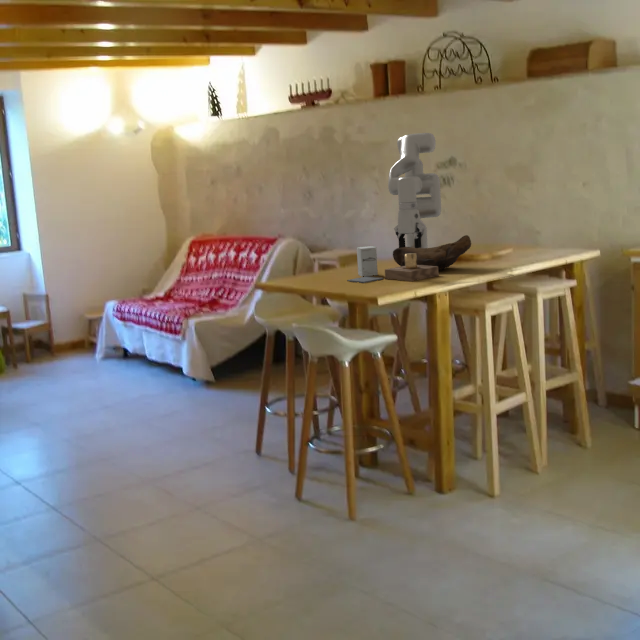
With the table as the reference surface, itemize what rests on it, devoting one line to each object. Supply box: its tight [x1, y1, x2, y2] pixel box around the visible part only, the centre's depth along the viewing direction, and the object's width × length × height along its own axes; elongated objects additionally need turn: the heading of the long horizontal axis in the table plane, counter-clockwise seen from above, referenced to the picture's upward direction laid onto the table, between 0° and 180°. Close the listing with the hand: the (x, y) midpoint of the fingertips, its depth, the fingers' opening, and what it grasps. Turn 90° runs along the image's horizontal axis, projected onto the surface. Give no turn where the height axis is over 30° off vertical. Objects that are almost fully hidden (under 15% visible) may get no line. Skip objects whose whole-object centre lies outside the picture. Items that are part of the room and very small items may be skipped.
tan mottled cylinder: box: [405, 253, 417, 269], centre depth 350 cm, size 5×5×10 cm
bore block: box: [384, 265, 439, 282], centre depth 350 cm, size 16×16×4 cm
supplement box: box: [356, 245, 379, 277], centre depth 366 cm, size 7×7×13 cm
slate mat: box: [346, 276, 384, 284], centre depth 352 cm, size 11×11×1 cm
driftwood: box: [392, 234, 472, 271], centre depth 367 cm, size 37×18×15 cm, turn 44°
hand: (410, 247), depth 348 cm, fingers open, 9 cm apart
